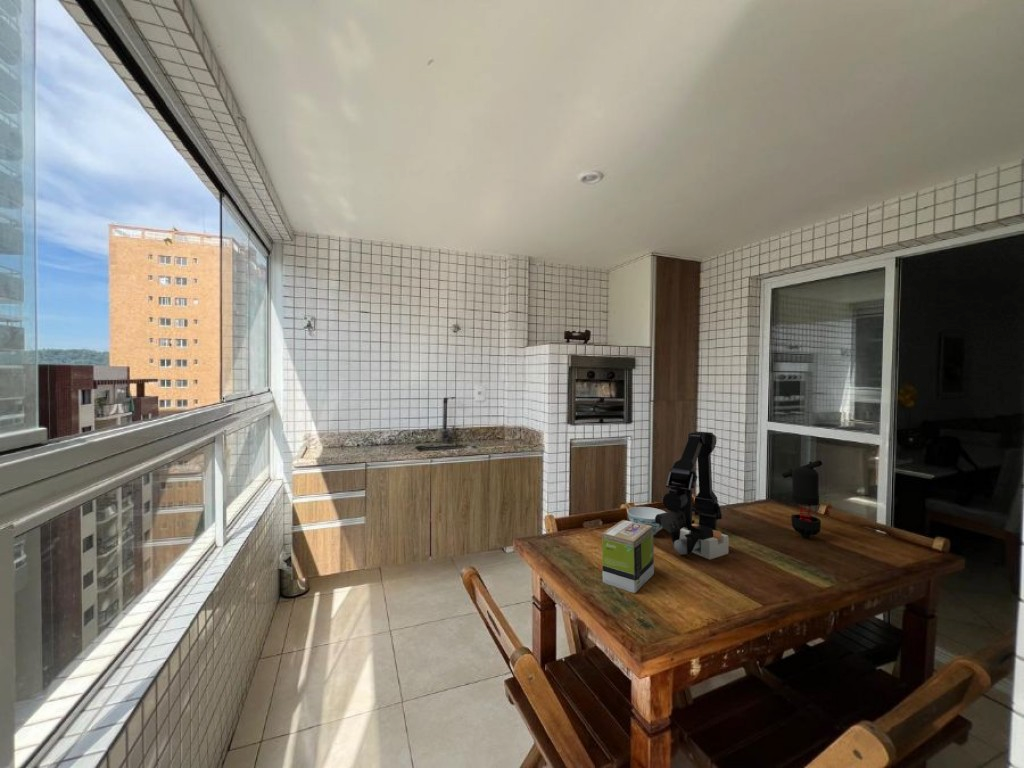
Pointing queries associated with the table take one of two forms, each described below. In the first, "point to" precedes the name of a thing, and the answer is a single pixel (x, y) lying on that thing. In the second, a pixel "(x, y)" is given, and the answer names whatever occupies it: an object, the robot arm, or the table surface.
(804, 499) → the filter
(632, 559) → the tea box
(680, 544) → the cartridge
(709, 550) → the housing
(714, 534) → the plunger
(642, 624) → the table surface
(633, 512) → the chinaware
